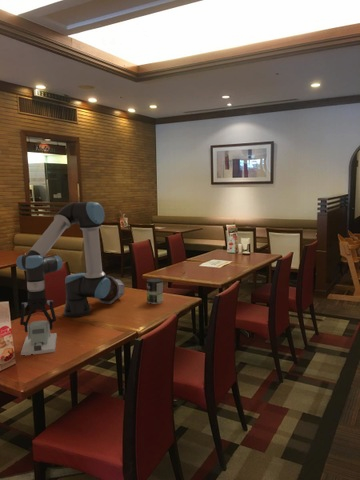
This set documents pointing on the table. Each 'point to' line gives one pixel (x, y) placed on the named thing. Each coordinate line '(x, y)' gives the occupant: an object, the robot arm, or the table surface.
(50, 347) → the mounting plate
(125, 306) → the table surface
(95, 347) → the table surface
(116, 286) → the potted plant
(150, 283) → the coffee can
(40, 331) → the block
